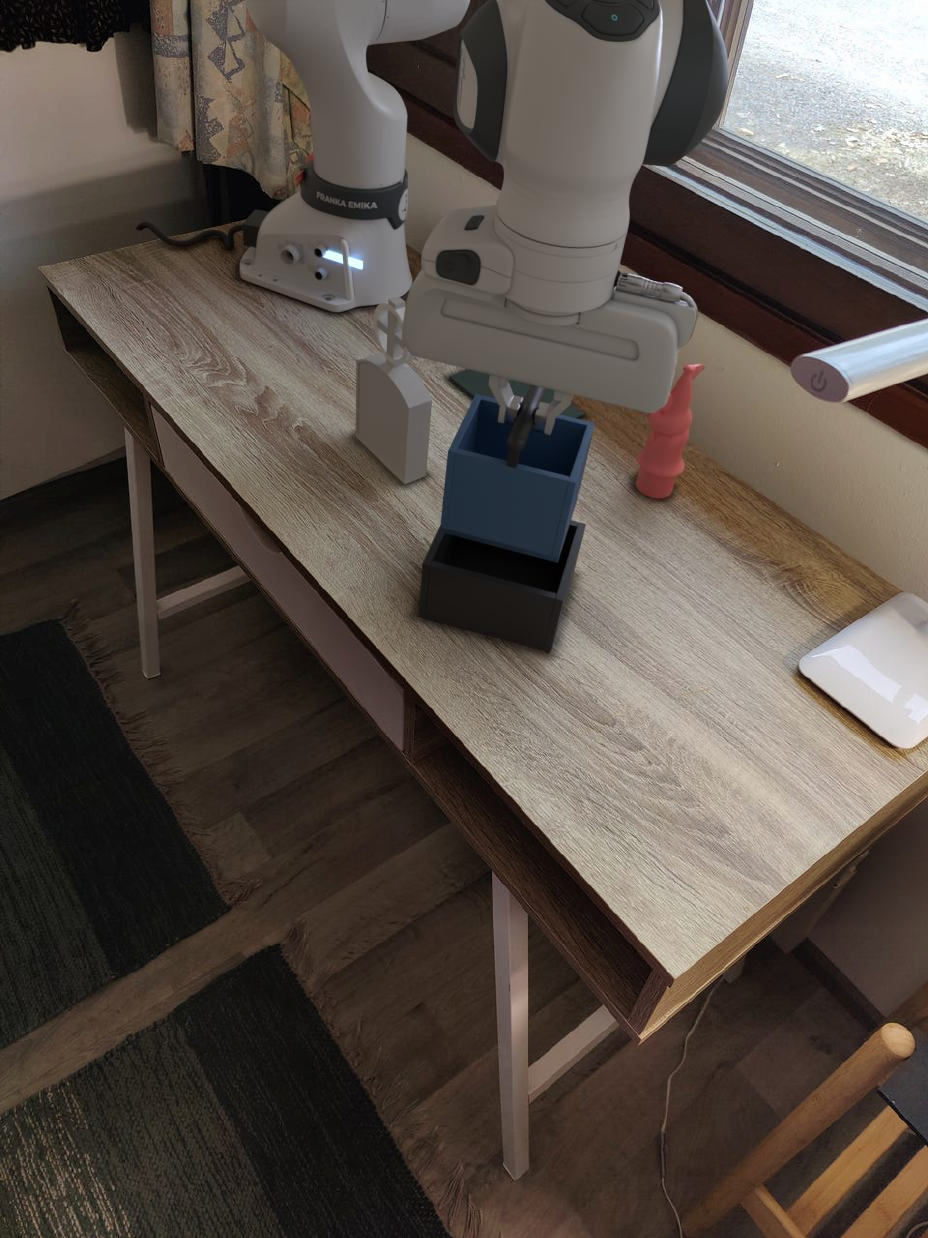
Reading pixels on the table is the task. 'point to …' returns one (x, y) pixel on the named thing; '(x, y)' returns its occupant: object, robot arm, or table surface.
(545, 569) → the charcoal bin
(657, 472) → the figurine
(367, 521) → the table surface
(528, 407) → the blue bin
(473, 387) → the mat
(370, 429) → the gravestone
